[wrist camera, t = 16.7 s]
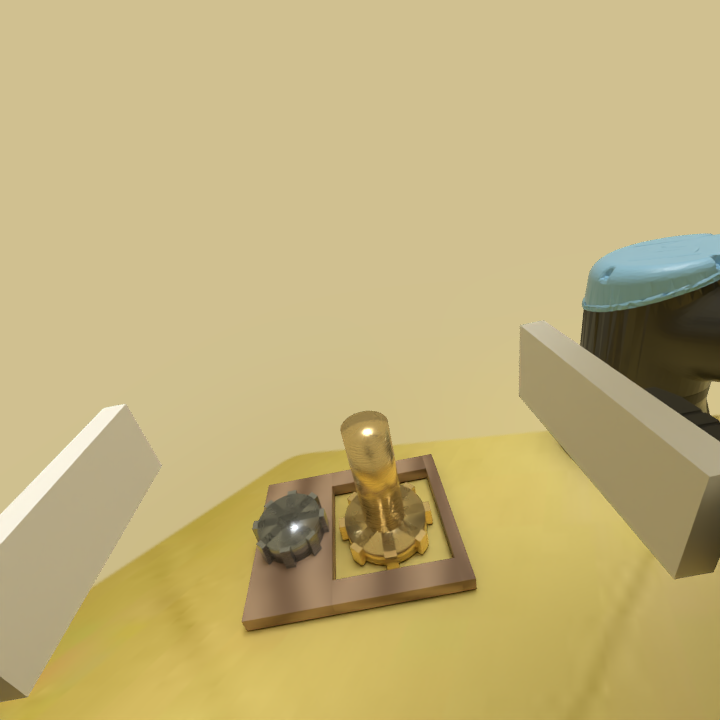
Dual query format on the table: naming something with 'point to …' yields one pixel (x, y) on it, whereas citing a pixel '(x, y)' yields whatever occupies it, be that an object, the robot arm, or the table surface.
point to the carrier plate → (330, 596)
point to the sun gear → (291, 528)
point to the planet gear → (380, 497)
